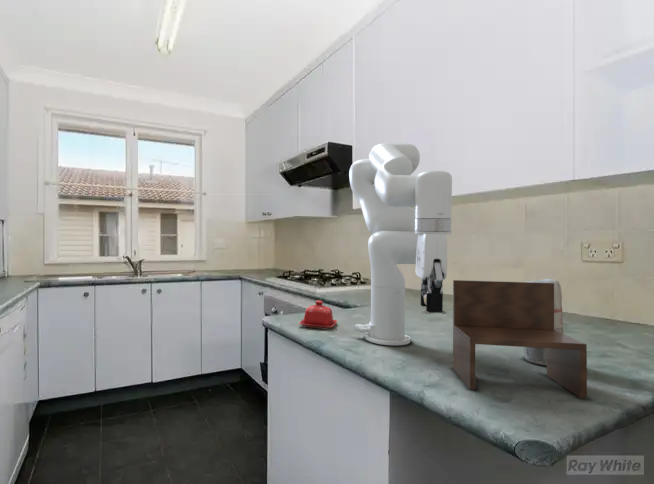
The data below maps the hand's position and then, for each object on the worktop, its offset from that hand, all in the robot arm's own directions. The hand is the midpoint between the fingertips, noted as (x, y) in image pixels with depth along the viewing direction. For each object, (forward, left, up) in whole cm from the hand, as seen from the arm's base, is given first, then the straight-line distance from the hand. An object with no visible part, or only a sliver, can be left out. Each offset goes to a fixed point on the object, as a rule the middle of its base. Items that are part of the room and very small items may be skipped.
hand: (431, 308), depth 83 cm
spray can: (+28, +12, -14) cm, 34 cm away
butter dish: (-28, +38, -14) cm, 49 cm away
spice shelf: (+15, -4, -14) cm, 21 cm away
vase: (0, 0, -1) cm, 1 cm away
